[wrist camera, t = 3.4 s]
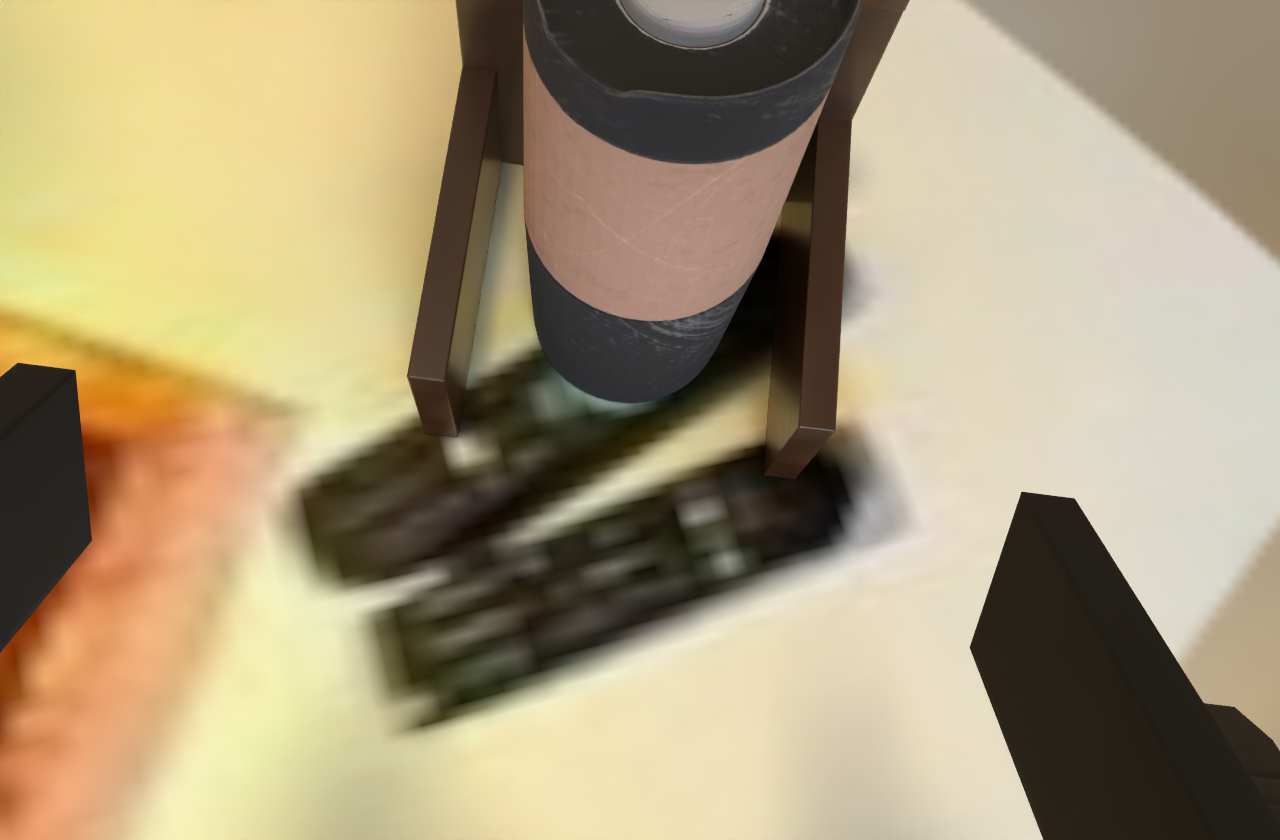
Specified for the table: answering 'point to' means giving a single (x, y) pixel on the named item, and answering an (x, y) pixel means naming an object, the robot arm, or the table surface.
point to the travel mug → (661, 171)
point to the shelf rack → (806, 245)
